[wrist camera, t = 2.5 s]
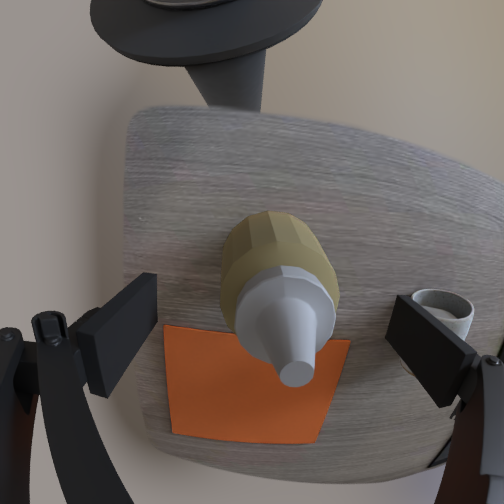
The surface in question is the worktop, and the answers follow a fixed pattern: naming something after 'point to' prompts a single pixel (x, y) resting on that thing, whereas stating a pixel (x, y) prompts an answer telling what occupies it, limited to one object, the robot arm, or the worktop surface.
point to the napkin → (244, 390)
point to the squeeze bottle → (279, 293)
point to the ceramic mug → (445, 311)
